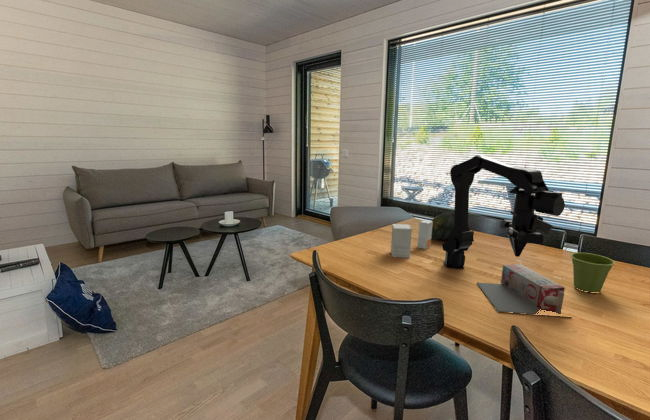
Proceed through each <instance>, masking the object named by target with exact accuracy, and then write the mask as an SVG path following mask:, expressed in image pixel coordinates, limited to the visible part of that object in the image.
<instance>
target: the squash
mask: <svg viewBox="0 0 650 420" xmlns="http://www.w3.org/2000/svg"><path fill="white" fill-rule="evenodd" d="M431 221H433V226H432V236H431V238H433V239H435V240H442V241H443V240H444V241H448V240H449V235H450V232H451V230H452V228H453V226H454V211H447V212H444V213H441V214H438V215H436V216H435V217H433V218H432V220H431Z"/></svg>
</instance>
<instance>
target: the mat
mask: <svg viewBox="0 0 650 420" xmlns="http://www.w3.org/2000/svg"><path fill="white" fill-rule="evenodd" d="M477 284H478V285H477ZM476 285H477V287H478V288H479V289H480V288H481V289H482V290H481V289H480V290H481V292H482V291H483V292H484V293H485V294H484V293H483V292H482V293H483V294H484V296H485V295H486V296H487V297H488V298H487V297H486V296H485V297H486V298H487V300H488V299H489V300H490V301H489V300H488V301H489V303H490V304H491V303H492V304H493V305H494V307H495V308H496V309H495V308H494V307H493V308H494V309H495V311H496V310H497V311H498V312H497V311H496V312H497V313H499V312H513V313H526V314H536V313H537V312H538V311H539V310H540V309H539V308H538V307H536V306H535V305H533V304H532V303H530V302H529V301H527V300H526V299H524V298H523V297H521V296H520V295H518V294H517V293H515V292H514V291H512V290H511V289H509V288H508V287H506V286H505V285H503V284H501V283H491V282H476ZM492 304H491V305H492ZM493 305H492V306H493ZM540 311H541V310H540ZM544 312H545V311H544ZM538 313H539V312H538ZM538 313H537V314H538Z"/></svg>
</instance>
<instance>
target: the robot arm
mask: <svg viewBox="0 0 650 420" xmlns="http://www.w3.org/2000/svg"><path fill="white" fill-rule="evenodd" d="M482 170H484V171H486V172H490V173H492V174H495V175H498V176H499V177H503V178H505V179H507V180H508V181H509V183H510V184H512V185H514V187H513V188H511V189H510V190H509V191H508V193H509V194H512V195H513V194H514V195H515V196H514V203H513V210H510V215H512V218H511V219H503V220H501V221H500V225H499V227H500V228H501V229H502V230H505V229H506V228H508V229H509V230H508V231H507V232H506V235H507V238H508V240H509V243H510V246H511V249H512V251H513V254H514V256H515V257H516V258H519V257H521V255H522V253H523V251H524V249H525V247H526V246H527V245H528V244H537V245H538V244H540V245H544V244H545V239H546V237H545V236H544V235H543V234H542V233H540V232H543V233H544V234H546V235H549V234H550V232H551V230H552V229H553V227H554V225H552V224H551V223H549V222H547V221H544V217H542V216H540V215H537V214H536V213H539V214H540V213H541V214H545V215H550V216H555V217H559V216H561V215H562V214H563V212H564V209H565V208H566V207H565V206H566V204H565V199H564V197H563V192H558V191H557V192H556V191H555V192H553V191H550V190H549V188H548V186H547V183H546V182H545V180H544V179H543V174H542V171H540V170H539V169H536V168H529V167H519V166H514V165H511V164H508V163H505V162H502V161H500V160H496V159H494V158H492V157H488V156H487V155H485V154H484V155H483V154H482V155H478V154H477V155H475V156H473V157H471V158H470V159H467V160H465V161H463V162H460V163H458V164H457V163H456V164H455V165H453V166H452V167H451V168H450V170H449V171H450V172H449V173H450V181H451V183H452V185H453V187H454V211H453V213H454V226H453V228H452V230H451V232H450V235H449V240H446V241H445V242H444V243H442V244H441V245H442V250H443V251H444V252H445V257H444V260H443V264H444V266H445V267H446V268H448V269H450V268H451V269H461V270H463V269H465V264H466V263H465V261H466V255H465V251H466V252H467V251H469V248H470V247H471V246H472V245H473V242H475V240H474V235H475V231H474V230H471V229H470V227H469V202H470V188H471V186H472V184H473V182H474V180H475V175H476V174H478V173H479V172H480V171H482ZM535 212H536V213H535ZM539 231H540V232H539Z"/></svg>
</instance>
